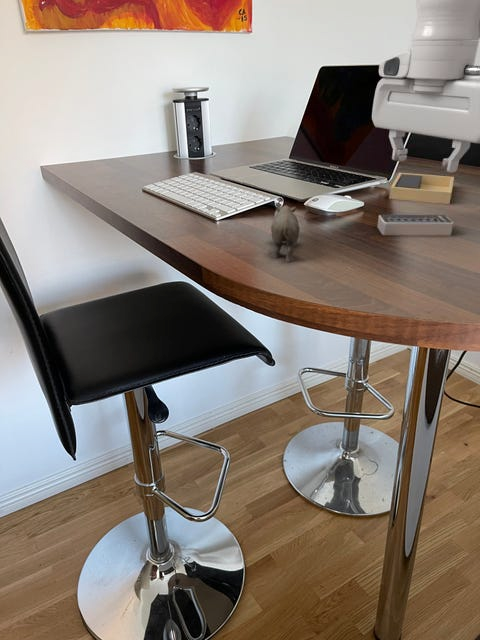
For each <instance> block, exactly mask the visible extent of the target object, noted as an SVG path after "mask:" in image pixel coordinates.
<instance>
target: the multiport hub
mask: <svg viewBox="0 0 480 640" xmlns="http://www.w3.org/2000/svg"><path fill="white" fill-rule="evenodd" d="M376 228H377V229H378V231H379V232H380V233H381V235H382V236H451V235H452V231H453V228H454V221H453V220H451V219H450V218H449V217H448V216H446V215H445V214H379V215H378V219H377V227H376Z"/></svg>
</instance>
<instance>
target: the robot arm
mask: <svg viewBox="0 0 480 640" xmlns="http://www.w3.org/2000/svg"><path fill="white" fill-rule="evenodd" d="M415 4H416V5H415V6H416V7H415V8H416V23H415V27H414V30H413V32H412V35H411V38H410V45H409V49H407V50H404V51H402V52H400V53H398V54H396V55H393V56H391V57H388V58H386V59H383V60H382V61H381V62H379V66H378V75H379V76H380V77H381V79H380V80H379V81H378V82H377V85H376V88H375V91H374V96H373V103H372V110H371V111H372V112H371V120H372V123H373V126H374V127H375V128H378V129H385V130H386V129H387V130H389V134H388V138H389V141H390V144H391V148H392V155H391V160H392V161H396V162H400V163H401V162H405V161H406V160H407V158H408V156H407V155H408V151H409V149H408V148H405V146H404V145H405V144H404V142H403V138H404V137H405V136H406V133H410V134H416V135H422V136H429V137H435V138H440V139H446V140H452V143H451V144H452V145H451V148H453V151H452V152H451V154H450V155H449V157H446V158H442V162H441V163H442V166H441V168H440V169H441V171H442V172H446V173H450V174H451V173H456V172H457V171H458V167H459V163H460V160H461V159H462V157H464V155H465V154H466V153H467V152H468V150H469V149H470V147H471V143H473V144H480V65H475V63H476V57H477V53H478V48H479V44H480V0H416V3H415Z"/></svg>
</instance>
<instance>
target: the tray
mask: <svg viewBox="0 0 480 640" xmlns="http://www.w3.org/2000/svg"><path fill="white" fill-rule="evenodd" d="M403 174H405V175H418V176H422V180H421V186H420V188H419V189H413V188H402V187H396V186H397V184H398V183H399V181H400V179H401V177H402V175H403ZM454 180H455V177H454V176H448V175H445V176H444V175H433V174H421V173H407V172H398V174H397V176H396V178H395V179H394V181H393V183H392V185H391V186H390V189H389V190H390V191H389V197H388V199H389V200H401V201H412V202H422V203H431V204H442V205H443V204H444V205H450V203H451V199H452V195H453V194H452V193H453V186H454V182H455V181H454Z"/></svg>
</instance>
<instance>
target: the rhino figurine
mask: <svg viewBox="0 0 480 640" xmlns="http://www.w3.org/2000/svg"><path fill="white" fill-rule="evenodd" d="M275 209H276V211H277V213H276V214H275V215H274V218H273V219H272V223H271V227H270V233H271V239H272V244H273V246H274V247H273V248H274V249H273V252H272V253H271V254H270V256H271V257H272V258H275V259H278V258H280V257H281V253H280V251H281V249H282V245H283V243H285V245H286V257H285V258H284V259H285V262H286V263H294V262H295V261H296V258H295V257H293V255H294V249H295V247H297V242H298V239H299V235H300V225H299V220H298V217H297V215H295V212H296V211H297V207H296V206H293V207H290V206H288V205H284V206H283V207H281V205H279V204H276V208H275Z"/></svg>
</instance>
